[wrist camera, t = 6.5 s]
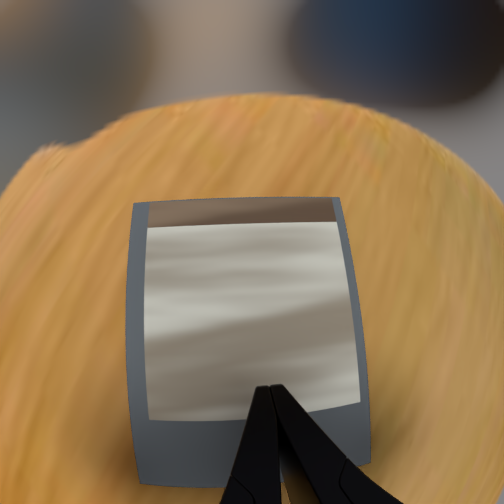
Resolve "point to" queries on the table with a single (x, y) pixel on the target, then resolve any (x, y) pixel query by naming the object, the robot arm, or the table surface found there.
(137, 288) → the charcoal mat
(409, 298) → the table surface
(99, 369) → the table surface
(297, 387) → the grey-brown flat block
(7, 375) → the table surface
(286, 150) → the table surface
